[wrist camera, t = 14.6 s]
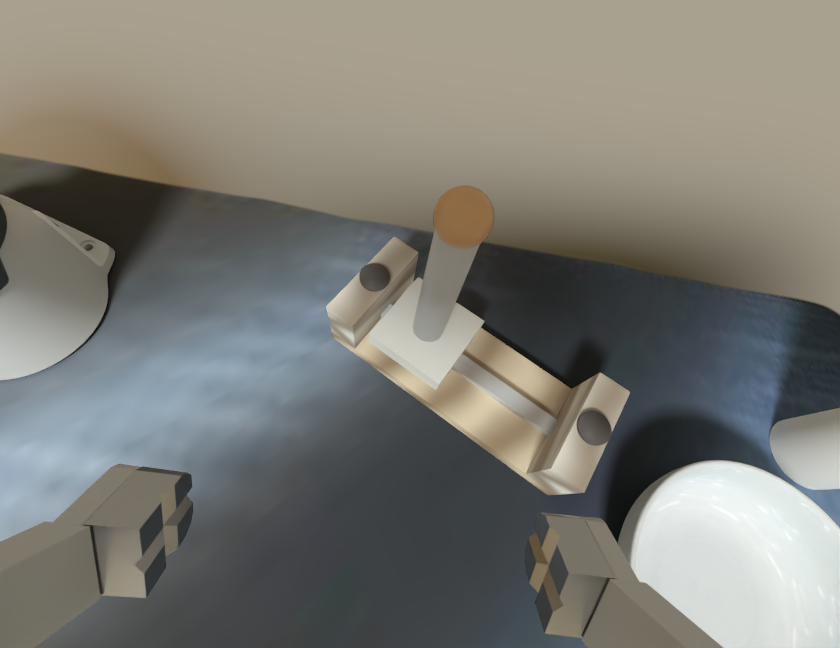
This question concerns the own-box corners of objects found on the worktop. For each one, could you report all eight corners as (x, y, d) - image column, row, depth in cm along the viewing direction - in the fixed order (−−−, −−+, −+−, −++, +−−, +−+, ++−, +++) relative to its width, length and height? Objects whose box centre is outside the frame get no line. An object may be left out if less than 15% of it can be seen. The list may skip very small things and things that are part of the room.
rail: (332, 337, 41) (325, 304, 34) (390, 274, 45) (394, 233, 38) (547, 495, 37) (586, 492, 30) (590, 410, 41) (633, 390, 34)
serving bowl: (585, 728, 30) (642, 786, 24) (583, 448, 39) (623, 438, 33) (843, 775, 31) (963, 843, 24) (781, 488, 40) (857, 485, 34)
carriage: (368, 341, 38) (367, 201, 21) (416, 286, 41) (450, 124, 24) (435, 390, 37) (495, 284, 19) (479, 329, 40) (564, 191, 23)
